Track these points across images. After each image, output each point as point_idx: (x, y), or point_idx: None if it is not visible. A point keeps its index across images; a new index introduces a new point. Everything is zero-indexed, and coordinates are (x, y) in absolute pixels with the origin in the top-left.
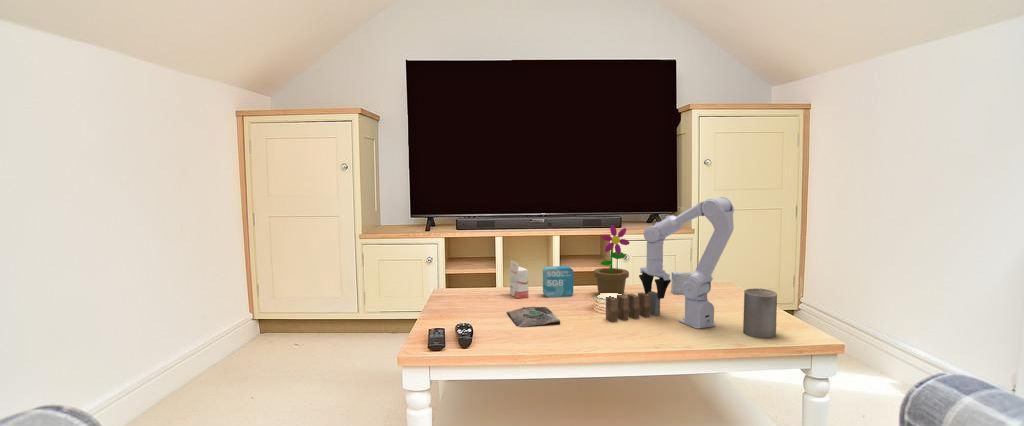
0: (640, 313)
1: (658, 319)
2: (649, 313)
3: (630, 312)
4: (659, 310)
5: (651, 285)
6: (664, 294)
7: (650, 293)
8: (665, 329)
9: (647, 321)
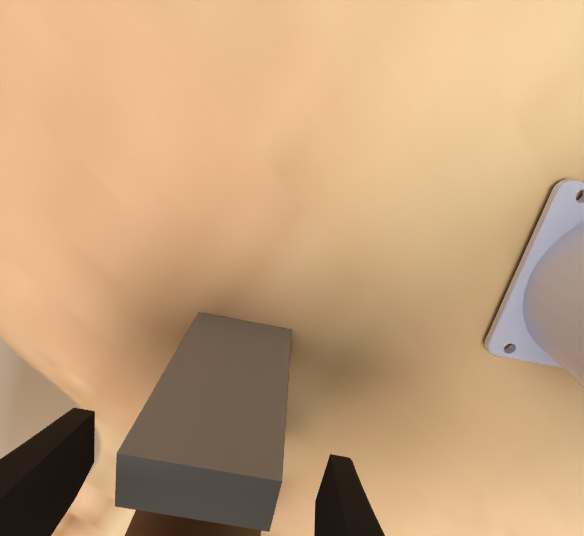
0: None
1: (348, 401)
2: None
3: None
4: (288, 356)
5: (11, 496)
6: (364, 501)
7: (168, 504)
8: (502, 502)
9: None
